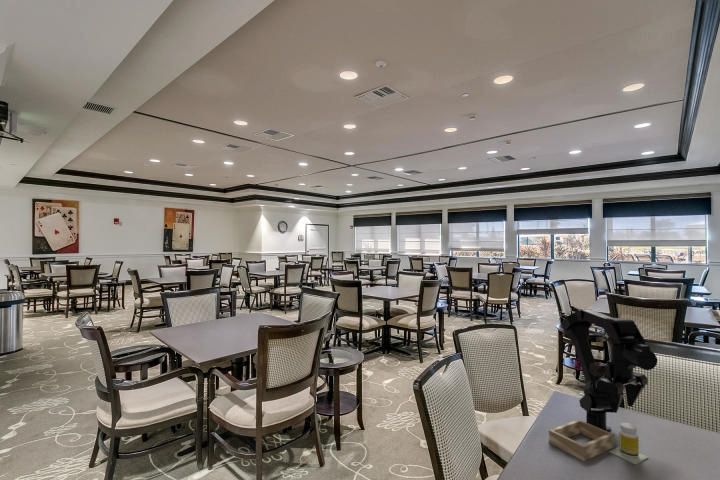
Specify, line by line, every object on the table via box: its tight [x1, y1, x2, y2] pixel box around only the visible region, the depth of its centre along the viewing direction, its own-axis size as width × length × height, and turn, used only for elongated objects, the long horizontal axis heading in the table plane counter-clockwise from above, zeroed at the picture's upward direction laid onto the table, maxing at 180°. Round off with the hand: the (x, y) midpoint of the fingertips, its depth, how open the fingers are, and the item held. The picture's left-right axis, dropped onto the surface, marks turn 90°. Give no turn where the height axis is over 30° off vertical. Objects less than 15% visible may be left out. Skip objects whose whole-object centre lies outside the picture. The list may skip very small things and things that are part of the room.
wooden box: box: [548, 419, 615, 462], centre depth 113 cm, size 16×11×4 cm
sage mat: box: [609, 446, 649, 465], centre depth 107 cm, size 7×7×1 cm
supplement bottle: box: [618, 422, 640, 458], centre depth 108 cm, size 5×5×8 cm
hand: (622, 409), depth 112 cm, fingers open, 9 cm apart
